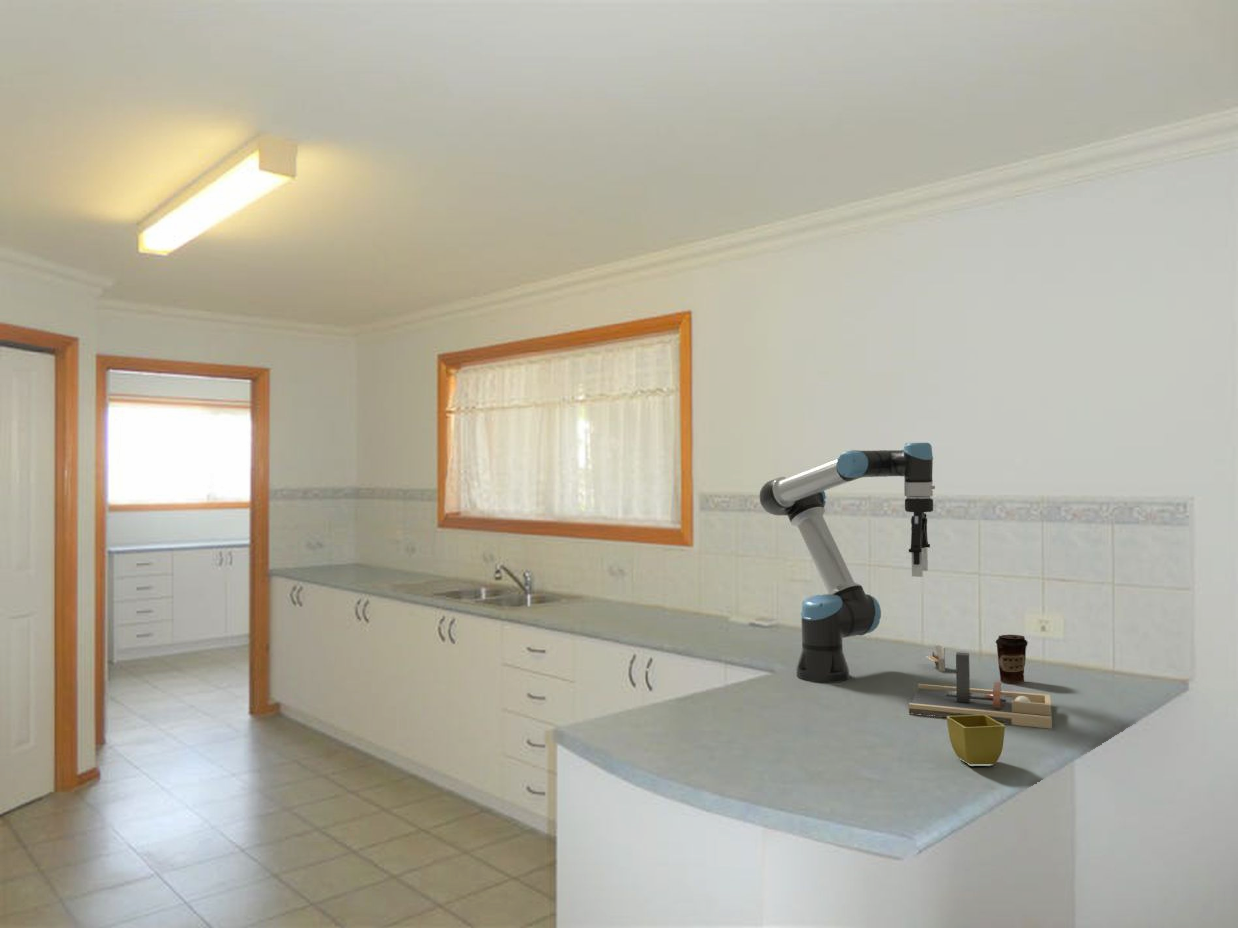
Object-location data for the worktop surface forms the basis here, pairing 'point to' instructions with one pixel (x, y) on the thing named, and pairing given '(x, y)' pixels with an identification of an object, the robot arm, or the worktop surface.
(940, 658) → the architectural model
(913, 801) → the worktop surface
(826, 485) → the robot arm
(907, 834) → the worktop surface
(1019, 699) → the ball
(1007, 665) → the coffee cup
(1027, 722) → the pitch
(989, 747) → the flower pot
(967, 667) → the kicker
